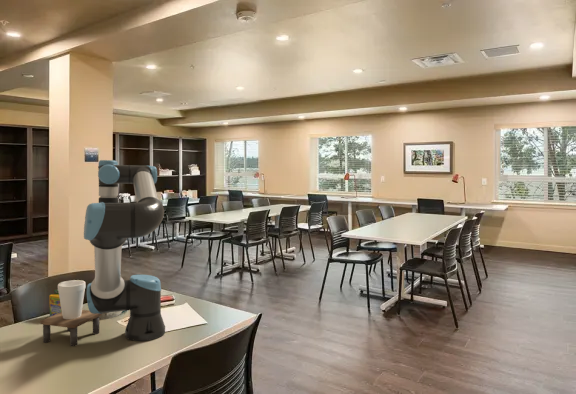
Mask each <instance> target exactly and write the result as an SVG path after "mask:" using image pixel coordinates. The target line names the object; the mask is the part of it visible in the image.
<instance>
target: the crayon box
mask: <svg viewBox="0 0 576 394" xmlns="http://www.w3.org/2000/svg"><path fill="white" fill-rule="evenodd" d="M53 291H54V293H53V294H49V296H48V297H49V300H48V301H49V303H48V304H49V317H51V316H53V315H56V314H58V313H60V312H62V310H61V304H60V297H59V291H58V289H54V290H53Z"/></svg>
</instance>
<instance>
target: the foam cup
mask: <svg viewBox="0 0 576 394" xmlns="http://www.w3.org/2000/svg"><path fill="white" fill-rule="evenodd" d="M85 289H87V285H86V281H84V280H82V279H81V280H79V279H77V280H75V279H73V280H66V281H61V282H59V283H58V284H57V290H58V291H59V292H58V293H59V297H60V304H61V310H62V316H63V318H64V319H75V318H78V317H80V316H81V313H82V310H83V304H84V297H85Z"/></svg>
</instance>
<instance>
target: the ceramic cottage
mask: <svg viewBox="0 0 576 394" xmlns="http://www.w3.org/2000/svg"><path fill="white" fill-rule="evenodd" d="M122 312H123V311H117V312H109V313H102V315H101V316H99V320H109V319H113V318H116V317H119V316H120V315H121V314H122Z"/></svg>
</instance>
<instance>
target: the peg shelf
mask: <svg viewBox="0 0 576 394" xmlns="http://www.w3.org/2000/svg"><path fill="white" fill-rule="evenodd" d="M101 315H102V314H99V313H97V314H93V313H91V312H90V311H89V309H88V310H86V309H82V313H81V316H80V317H78V318H75V319H64V318H63V316H62V312H60V313H58V314H56V315H53V316H51V317H50V316H49V317H46V318H44V319H41V320H40V321H39V322H40V323H39V324H40V325H42V333H43V334H42V338H43V339H42V342H43V343H45V344H46V343H51V337H52V336H51V334H52V333H51V326H52V327H60V328H66V331H68V332H69V338H70V339H69V345H70V347H76V346H78V327H80V326H83V325H84V324H86V323H89V322H90V321H92V335H98V334H100V319H99V316H101Z"/></svg>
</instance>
